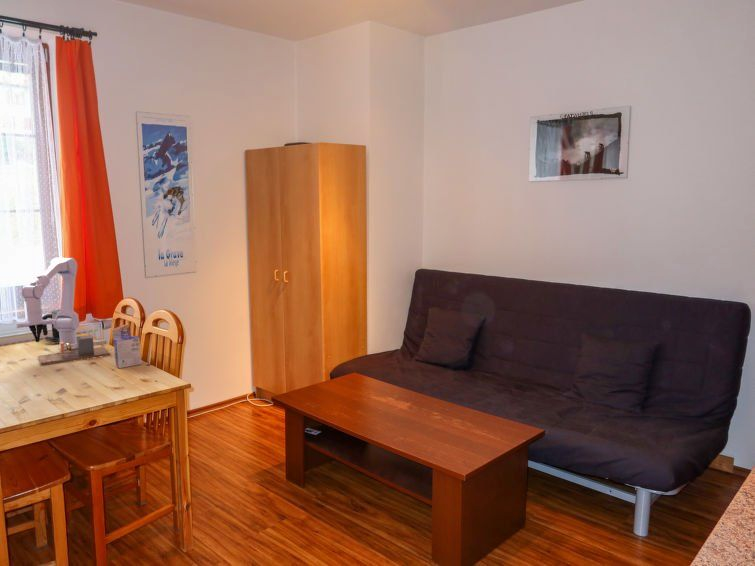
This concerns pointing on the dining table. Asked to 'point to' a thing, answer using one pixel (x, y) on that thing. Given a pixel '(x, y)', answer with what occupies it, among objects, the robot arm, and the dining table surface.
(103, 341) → the shaft
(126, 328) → the candy box
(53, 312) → the milk frother
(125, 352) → the ink cartridge box
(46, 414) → the dining table surface
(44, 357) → the bearing base
